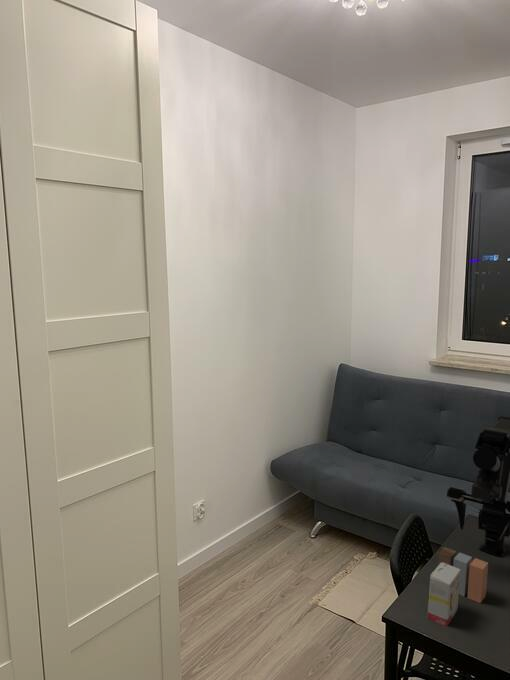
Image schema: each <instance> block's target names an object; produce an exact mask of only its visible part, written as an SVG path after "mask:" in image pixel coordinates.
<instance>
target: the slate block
mask: <svg viewBox="0 0 510 680" xmlns="http://www.w3.org/2000/svg"><path fill="white" fill-rule="evenodd" d="M472 561H473V558H472V556H470V555H468V554H465V553H462V552H458V554H456V557H455V558H454V563H453V567H456V568H458V569H461V572H460V584H459V596H462V597H465V596H466V595H468V583H469V569H470V564H471V563H472Z"/></svg>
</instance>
